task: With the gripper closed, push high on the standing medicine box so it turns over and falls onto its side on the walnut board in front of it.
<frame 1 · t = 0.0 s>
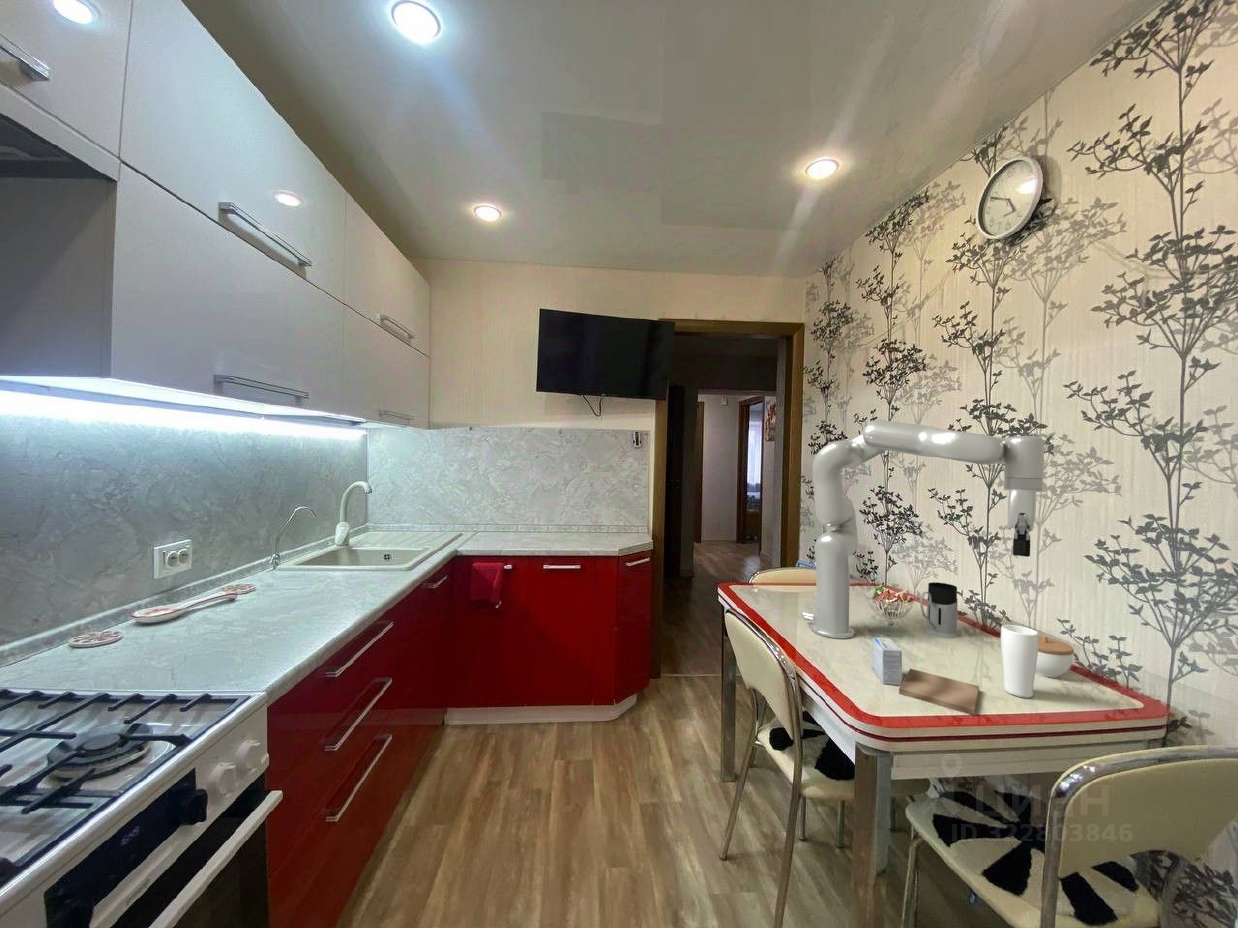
hand: (1021, 552, 120), 31 cm above the table, tool pointing down, fingers open, 9 cm apart
lidded jar: (1044, 673, 123), on the table
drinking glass: (1017, 693, 111), on the table
medicine box: (886, 678, 119), on the table
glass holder: (935, 634, 149), on the table
walnut board: (939, 692, 111), on the table
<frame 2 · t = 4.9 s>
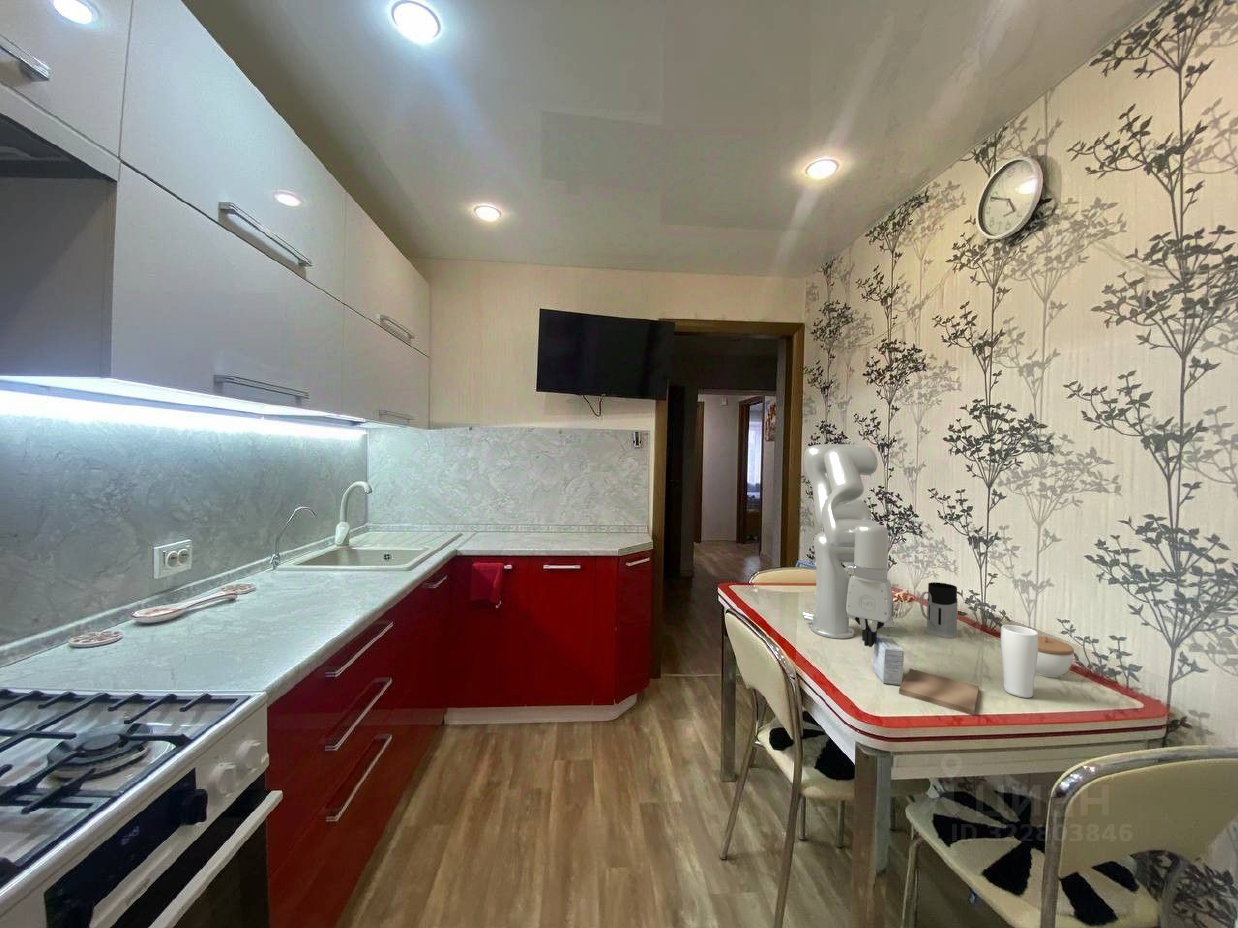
hand: (869, 644, 121), 7 cm above the table, tool pointing down, fingers closed
nothing on the table moved.
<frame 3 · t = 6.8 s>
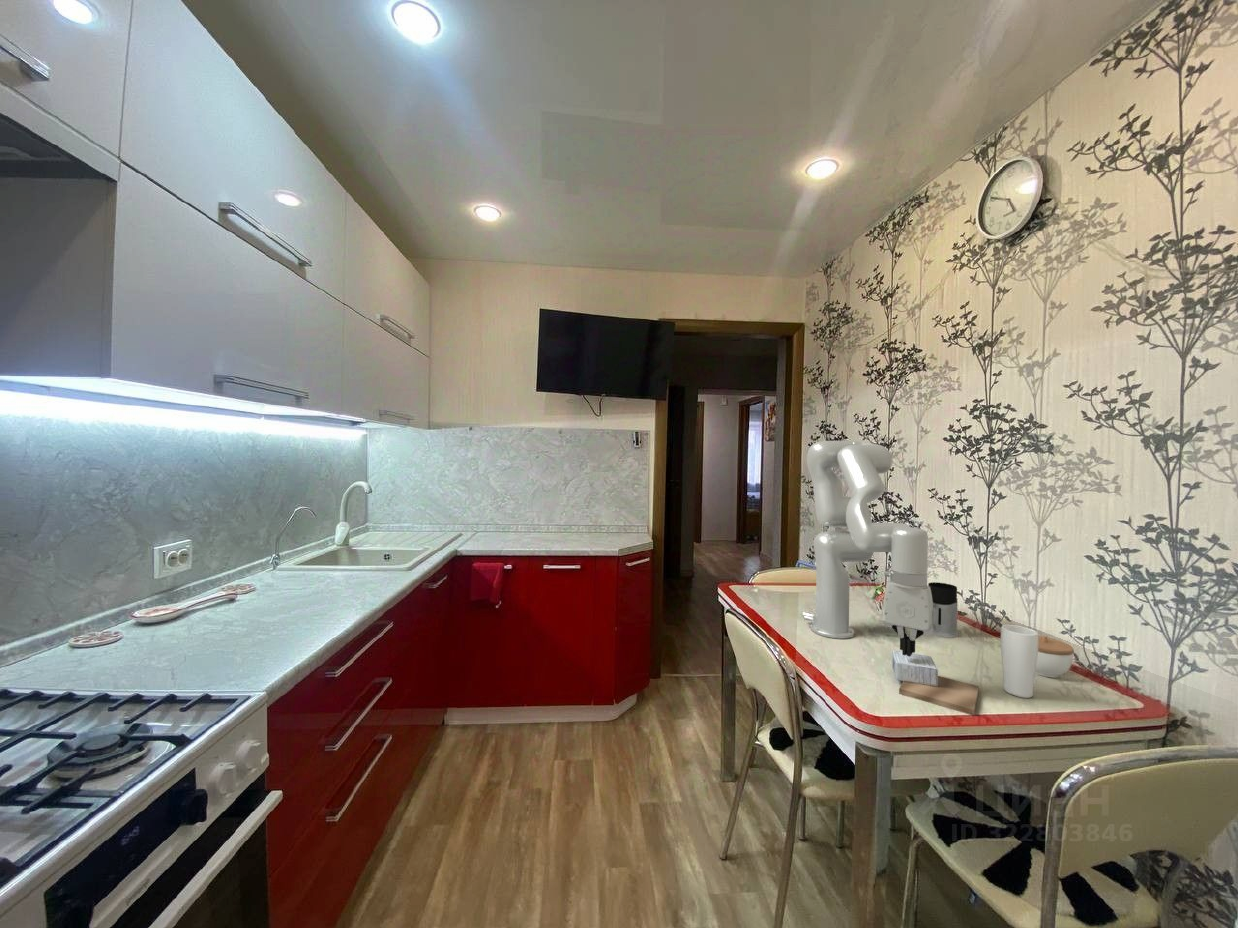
hand: (907, 653, 115), 7 cm above the table, tool pointing down, fingers closed
medicine box: (892, 664, 118), point 3 cm above the table, touching walnut board
everything else where it was.
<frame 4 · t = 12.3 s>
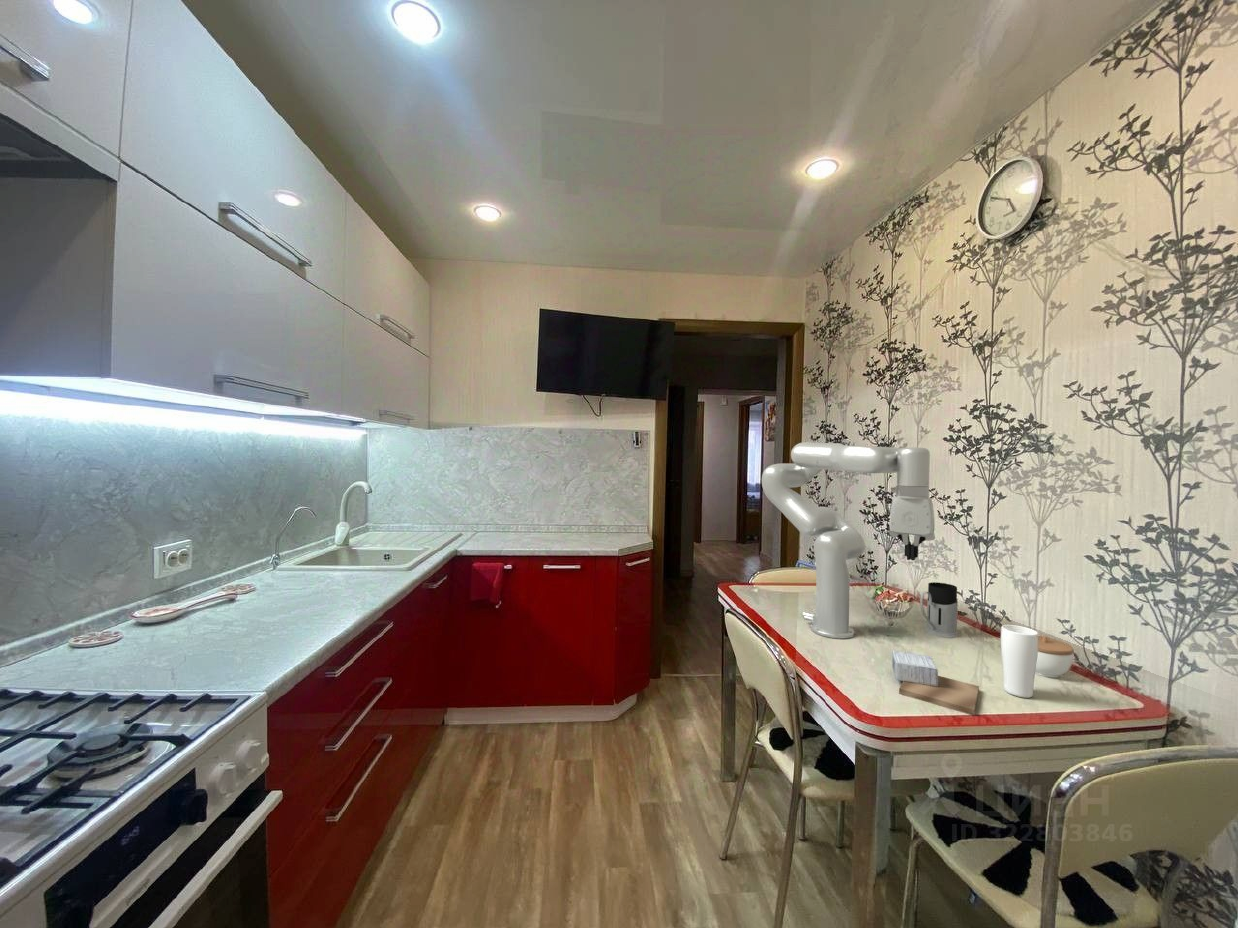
hand: (911, 559, 130), 27 cm above the table, tool pointing down, fingers closed
nothing on the table moved.
at the end: medicine box tilted 90°; medicine box touching walnut board; the gripper is holding nothing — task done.
